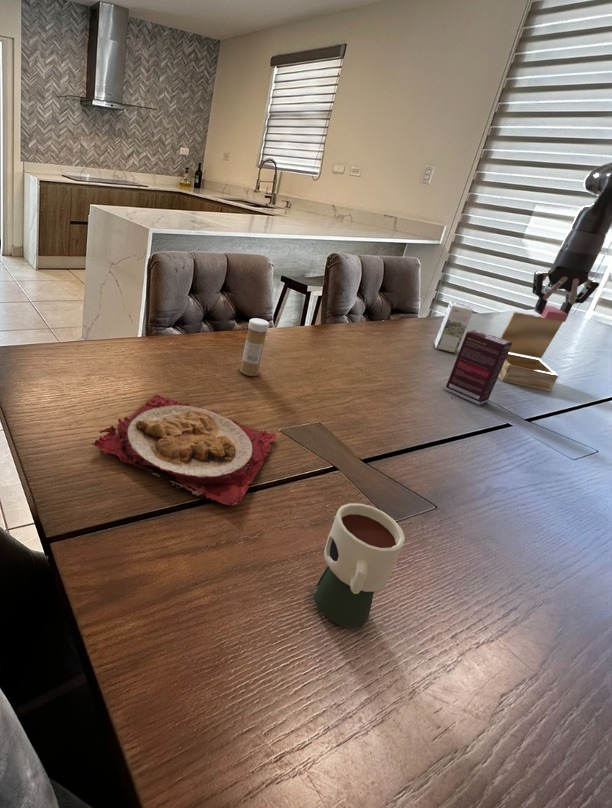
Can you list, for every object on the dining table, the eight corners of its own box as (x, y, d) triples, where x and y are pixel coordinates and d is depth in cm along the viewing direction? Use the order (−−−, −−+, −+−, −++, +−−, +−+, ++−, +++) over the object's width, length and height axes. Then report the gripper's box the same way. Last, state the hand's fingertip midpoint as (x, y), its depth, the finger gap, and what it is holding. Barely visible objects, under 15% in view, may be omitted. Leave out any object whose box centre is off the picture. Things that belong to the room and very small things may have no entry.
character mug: (315, 562, 62) (341, 484, 57) (372, 587, 60) (404, 507, 55) (301, 631, 53) (330, 545, 48) (367, 663, 50) (406, 575, 45)
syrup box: (453, 348, 148) (470, 304, 143) (456, 354, 143) (473, 309, 138) (433, 343, 150) (449, 300, 145) (435, 349, 145) (452, 304, 140)
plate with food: (235, 516, 69) (240, 498, 67) (90, 450, 78) (92, 432, 77) (275, 441, 89) (279, 426, 87) (156, 395, 98) (158, 381, 97)
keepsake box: (550, 391, 125) (558, 375, 123) (502, 381, 128) (509, 365, 126) (533, 374, 135) (540, 359, 134) (488, 364, 138) (494, 350, 136)
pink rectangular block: (533, 310, 128) (536, 303, 127) (552, 313, 127) (555, 306, 126) (545, 318, 121) (548, 311, 120) (565, 322, 120) (568, 314, 119)
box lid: (563, 321, 127) (562, 320, 127) (515, 312, 129) (514, 311, 130) (541, 358, 133) (540, 356, 134) (495, 349, 136) (494, 347, 136)
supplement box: (488, 401, 115) (514, 342, 108) (479, 406, 112) (505, 345, 106) (452, 386, 121) (475, 328, 115) (443, 389, 118) (466, 331, 112)
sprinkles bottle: (260, 372, 115) (272, 321, 110) (254, 378, 111) (265, 326, 106) (243, 366, 117) (253, 316, 112) (236, 372, 113) (246, 320, 108)
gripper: (605, 252, 118) (573, 316, 125) (540, 242, 122) (513, 305, 129) (622, 257, 112) (588, 324, 118) (553, 247, 115) (524, 312, 122)
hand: (549, 314), depth 123 cm, fingers closed on pink rectangular block, 4 cm apart
